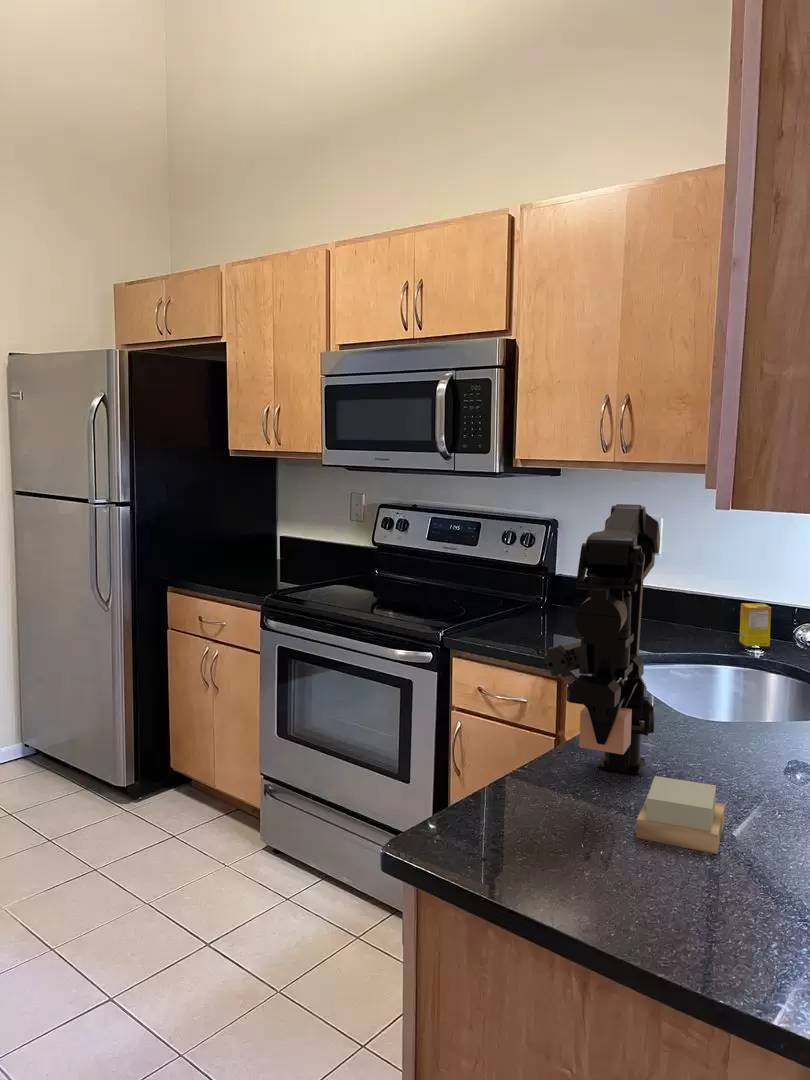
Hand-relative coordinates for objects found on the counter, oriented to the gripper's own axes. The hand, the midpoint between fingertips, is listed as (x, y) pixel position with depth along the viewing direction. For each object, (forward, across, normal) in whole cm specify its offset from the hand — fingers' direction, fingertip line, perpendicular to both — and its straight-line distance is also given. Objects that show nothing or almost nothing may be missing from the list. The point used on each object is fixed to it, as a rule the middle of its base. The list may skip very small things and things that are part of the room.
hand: (605, 738), depth 113 cm
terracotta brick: (+1, 0, 0) cm, 1 cm away
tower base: (+12, 0, +10) cm, 16 cm away
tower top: (+8, 0, +10) cm, 13 cm away
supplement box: (+11, -115, +10) cm, 116 cm away
